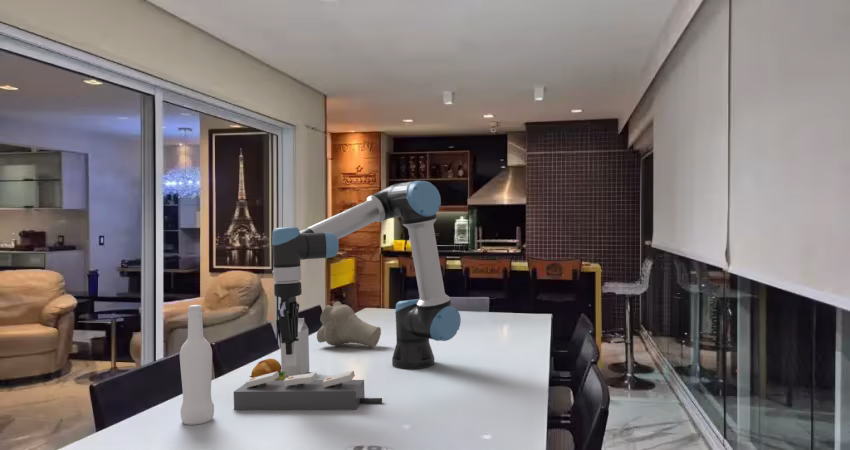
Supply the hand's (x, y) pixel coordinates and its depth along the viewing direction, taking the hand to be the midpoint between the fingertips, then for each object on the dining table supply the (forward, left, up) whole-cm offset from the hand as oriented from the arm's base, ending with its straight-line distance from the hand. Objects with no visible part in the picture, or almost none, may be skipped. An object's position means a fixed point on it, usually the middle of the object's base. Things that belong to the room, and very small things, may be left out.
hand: (290, 365), depth 168 cm
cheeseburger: (+12, -16, -11) cm, 23 cm away
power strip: (-6, 0, -11) cm, 12 cm away
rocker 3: (-14, 0, -4) cm, 14 cm away
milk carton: (+9, -34, -11) cm, 37 cm away
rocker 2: (-3, 0, -4) cm, 5 cm away
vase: (-1, -78, -11) cm, 79 cm away
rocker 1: (+8, 0, -4) cm, 9 cm away
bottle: (+20, +15, -11) cm, 28 cm away
